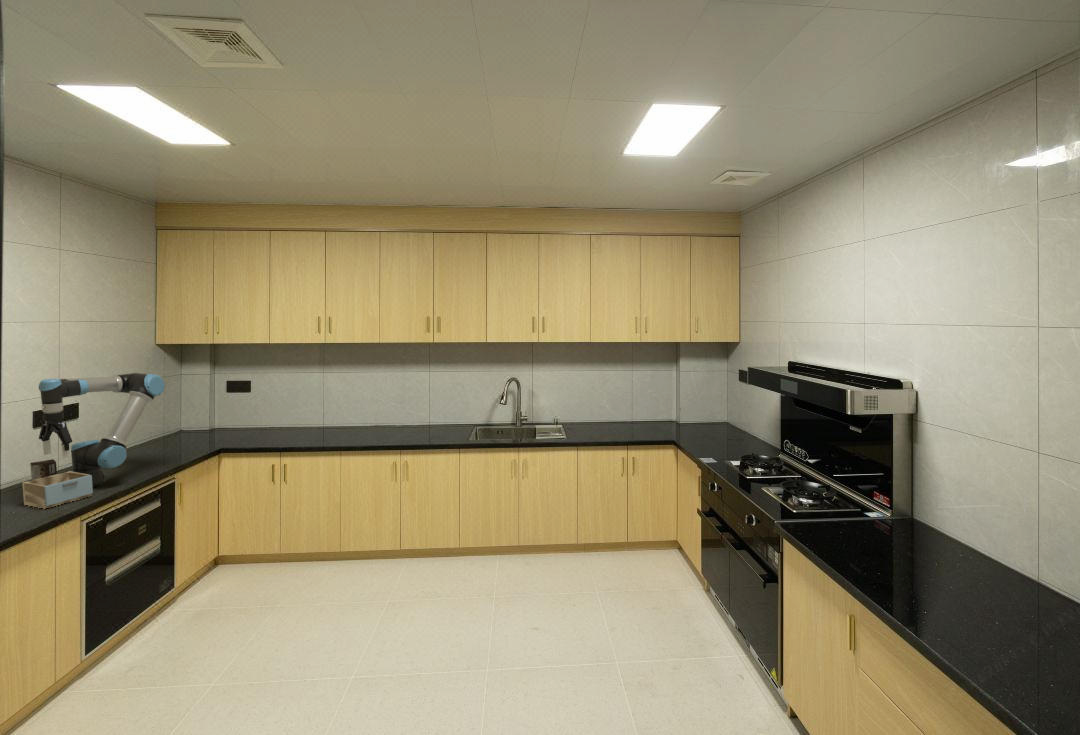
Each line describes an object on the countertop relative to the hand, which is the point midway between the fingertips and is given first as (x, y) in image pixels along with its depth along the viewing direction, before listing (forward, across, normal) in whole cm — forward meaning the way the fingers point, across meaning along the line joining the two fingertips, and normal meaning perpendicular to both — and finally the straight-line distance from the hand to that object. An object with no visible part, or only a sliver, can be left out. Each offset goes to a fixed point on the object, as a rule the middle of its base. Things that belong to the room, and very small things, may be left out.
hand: (56, 455), depth 272 cm
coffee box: (+23, -19, +4) cm, 30 cm away
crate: (+22, -1, 0) cm, 23 cm away
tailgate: (+20, +6, 0) cm, 22 cm away
